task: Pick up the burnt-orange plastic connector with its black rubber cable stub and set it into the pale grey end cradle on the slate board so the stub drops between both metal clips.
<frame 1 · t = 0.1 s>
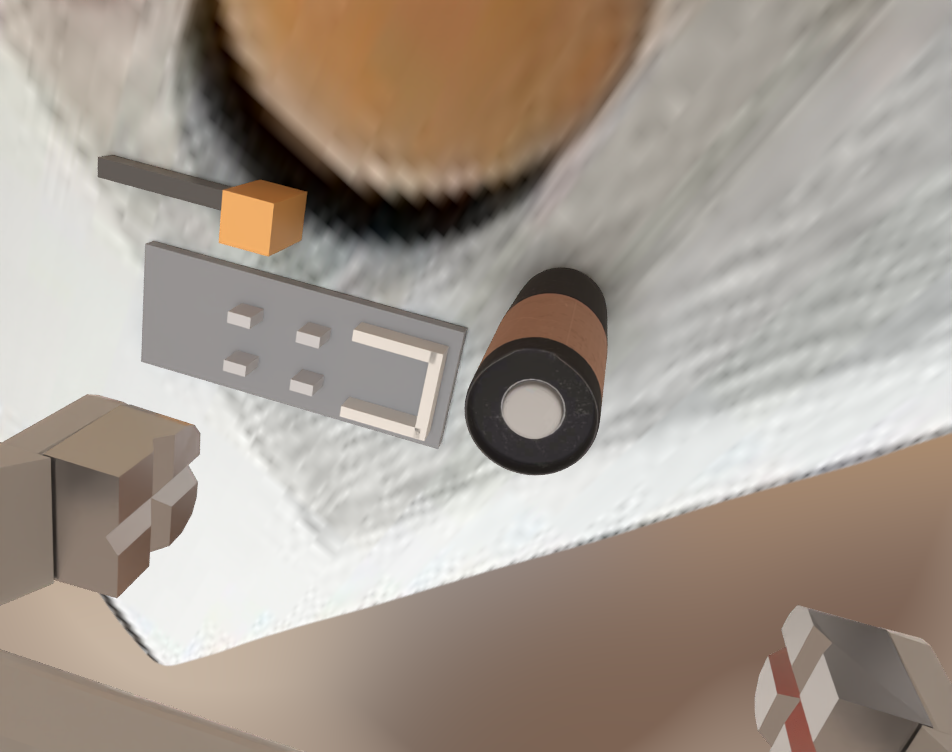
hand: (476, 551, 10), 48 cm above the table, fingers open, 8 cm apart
clip board: (299, 343, 63), on the table
travel mug: (561, 310, 58), on the table
connector: (281, 210, 59), on the table
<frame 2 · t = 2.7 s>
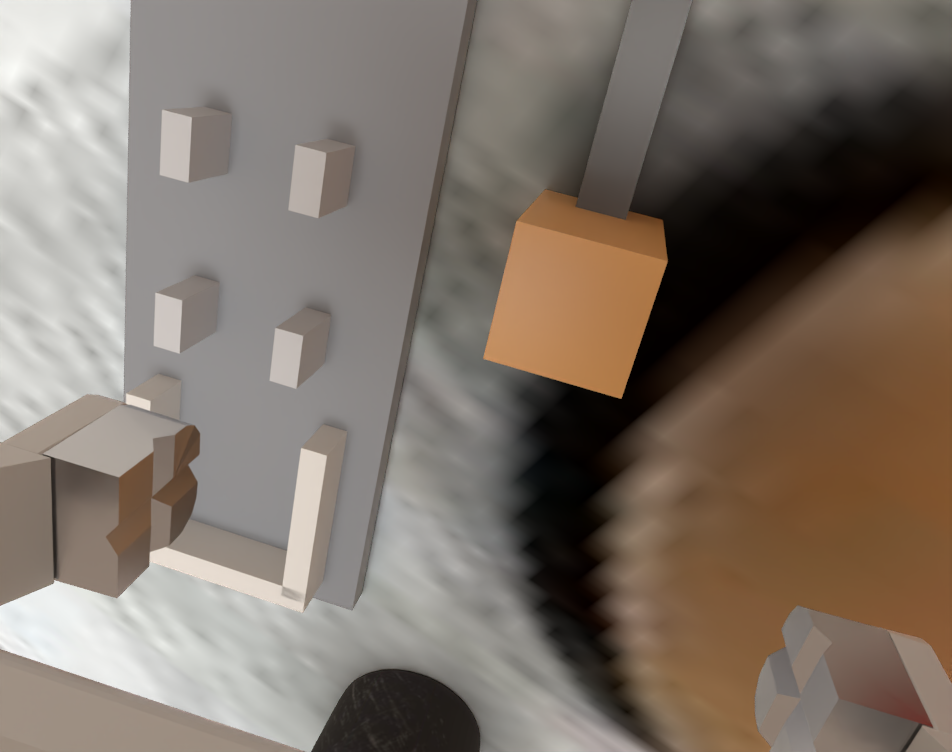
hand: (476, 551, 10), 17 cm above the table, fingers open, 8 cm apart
clip board: (279, 261, 27), on the table
travel mug: (409, 723, 35), on the table
connector: (586, 261, 25), on the table
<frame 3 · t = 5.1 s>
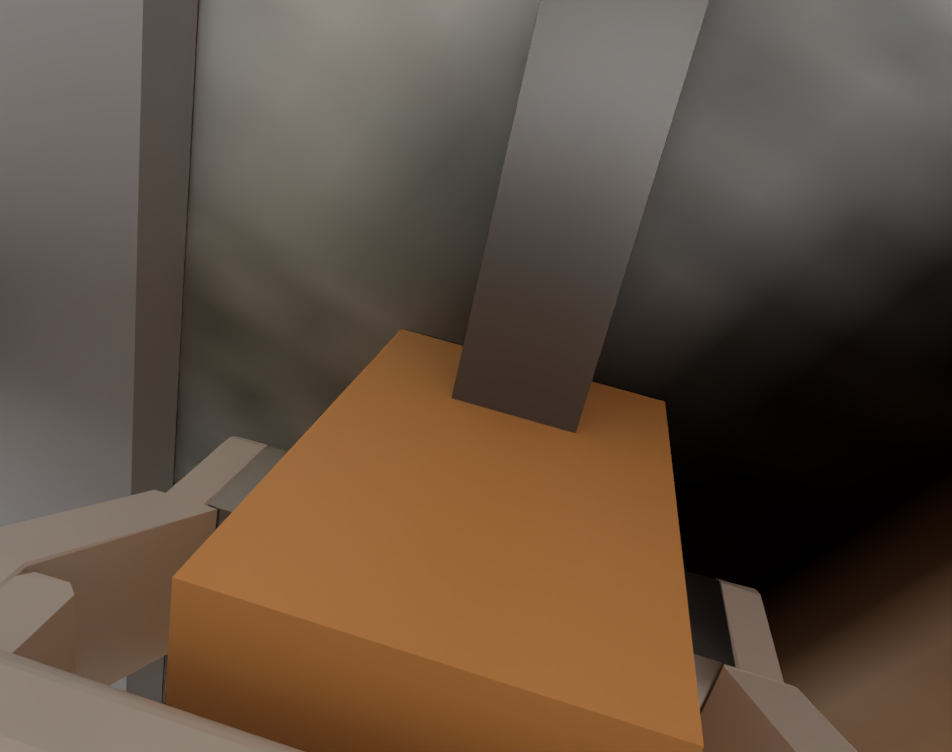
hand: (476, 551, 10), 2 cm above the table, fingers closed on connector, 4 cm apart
connector: (500, 478, 12), on the table, touching gripper
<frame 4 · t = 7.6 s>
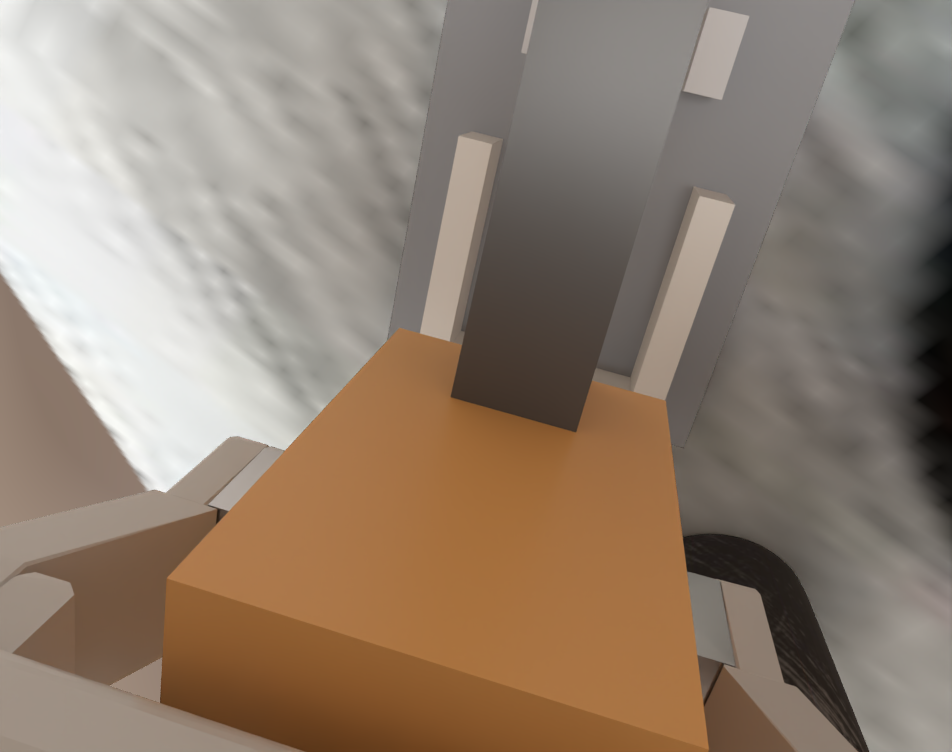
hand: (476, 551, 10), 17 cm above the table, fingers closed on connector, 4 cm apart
travel mug: (710, 605, 29), on the table
connector: (499, 478, 11), point 15 cm above the table, touching gripper
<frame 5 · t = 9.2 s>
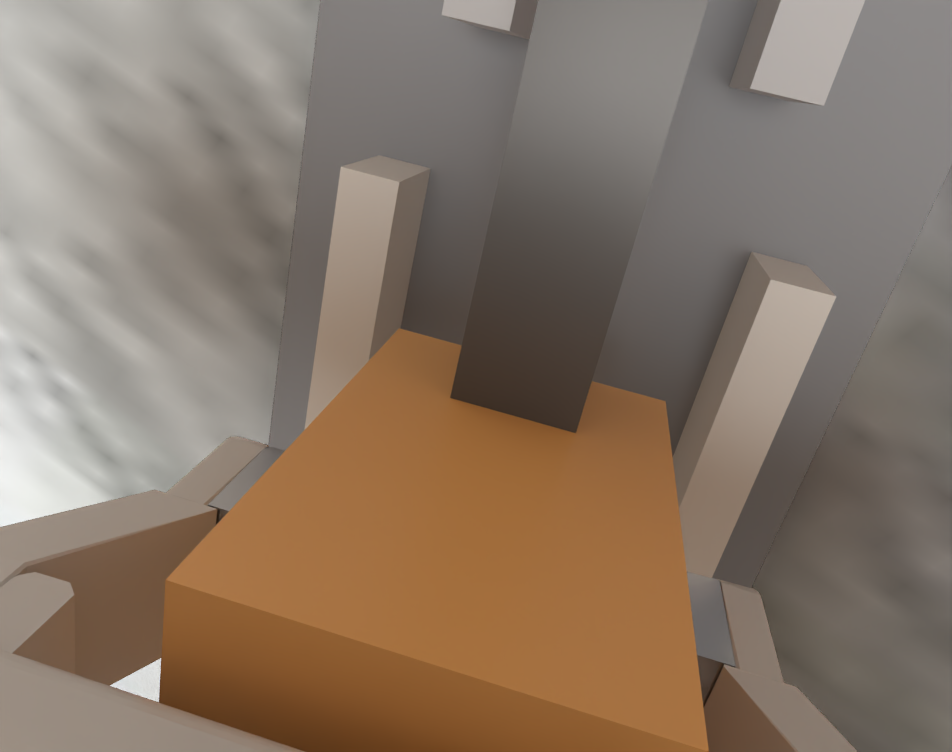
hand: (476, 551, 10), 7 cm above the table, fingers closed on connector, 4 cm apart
connector: (499, 479, 11), point 5 cm above the table, touching gripper
when the fingers open (5 cm above the table, at t = 10.3 s): connector drops 2 cm, resting on clip board.
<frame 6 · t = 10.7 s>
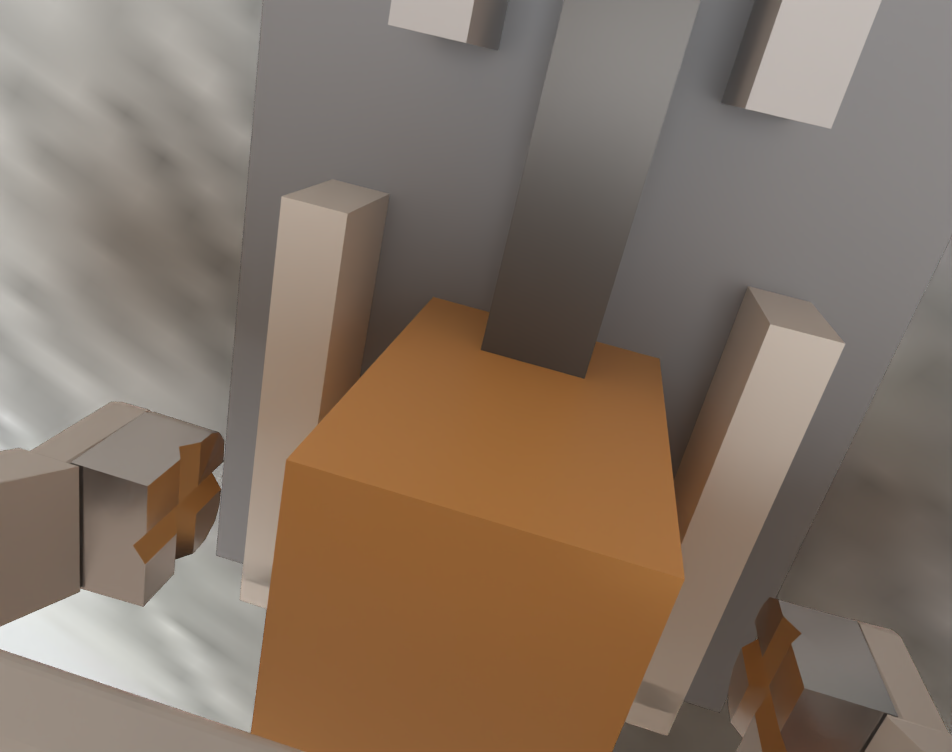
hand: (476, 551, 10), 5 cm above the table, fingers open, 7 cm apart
connector: (517, 428, 13), point 1 cm above the table, touching clip board
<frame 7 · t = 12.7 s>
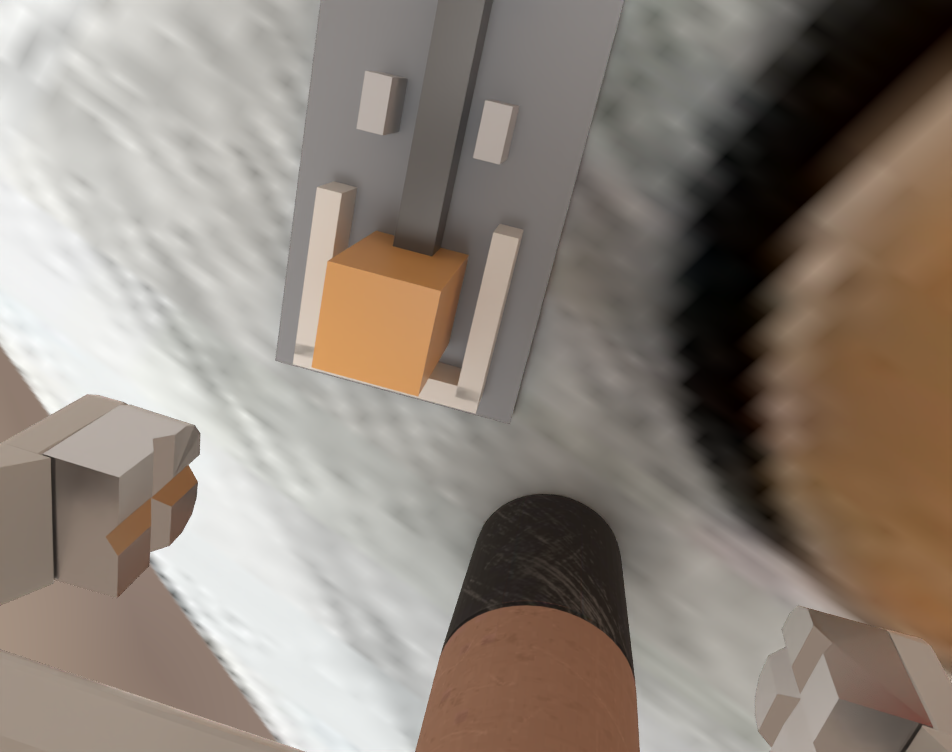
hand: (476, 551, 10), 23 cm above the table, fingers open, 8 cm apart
clip board: (461, 62, 29), on the table
travel mug: (547, 553, 36), on the table
connector: (413, 288, 31), point 1 cm above the table, touching clip board
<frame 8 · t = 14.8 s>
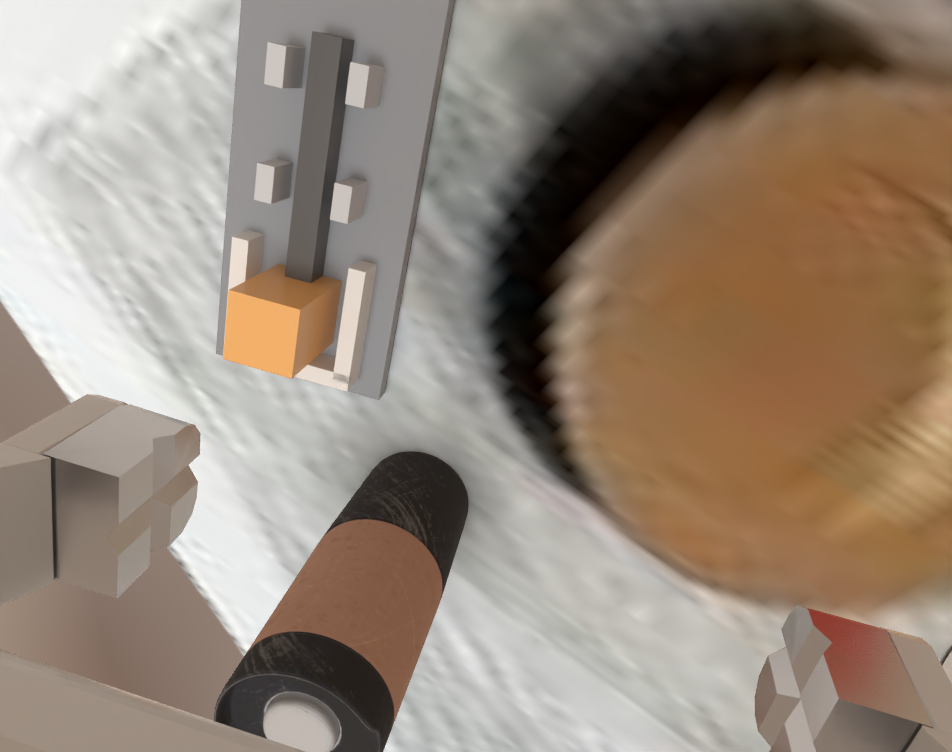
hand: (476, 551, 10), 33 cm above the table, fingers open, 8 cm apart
clip board: (332, 149, 42), on the table
travel mug: (418, 496, 50), on the table
connector: (306, 303, 44), point 1 cm above the table, touching clip board
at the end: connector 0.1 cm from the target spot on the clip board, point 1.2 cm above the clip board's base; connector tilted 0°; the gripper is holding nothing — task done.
